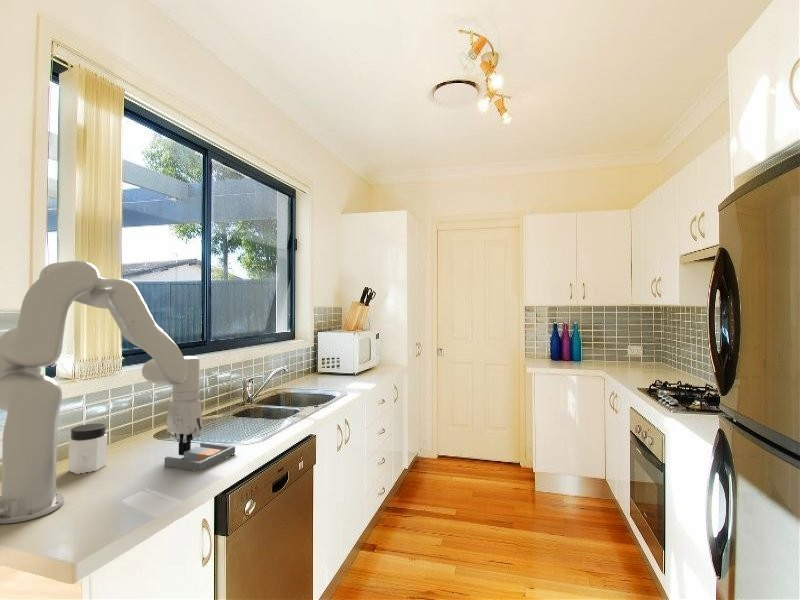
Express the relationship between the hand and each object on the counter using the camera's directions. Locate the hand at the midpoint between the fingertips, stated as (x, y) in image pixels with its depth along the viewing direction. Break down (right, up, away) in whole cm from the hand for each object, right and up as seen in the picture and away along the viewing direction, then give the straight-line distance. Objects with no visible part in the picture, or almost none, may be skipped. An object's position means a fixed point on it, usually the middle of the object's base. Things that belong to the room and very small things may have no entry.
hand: (184, 453), depth 130 cm
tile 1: (+4, -2, -1) cm, 5 cm away
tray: (+6, -1, -2) cm, 6 cm away
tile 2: (+9, -2, -2) cm, 9 cm away
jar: (-23, -1, -10) cm, 25 cm away
